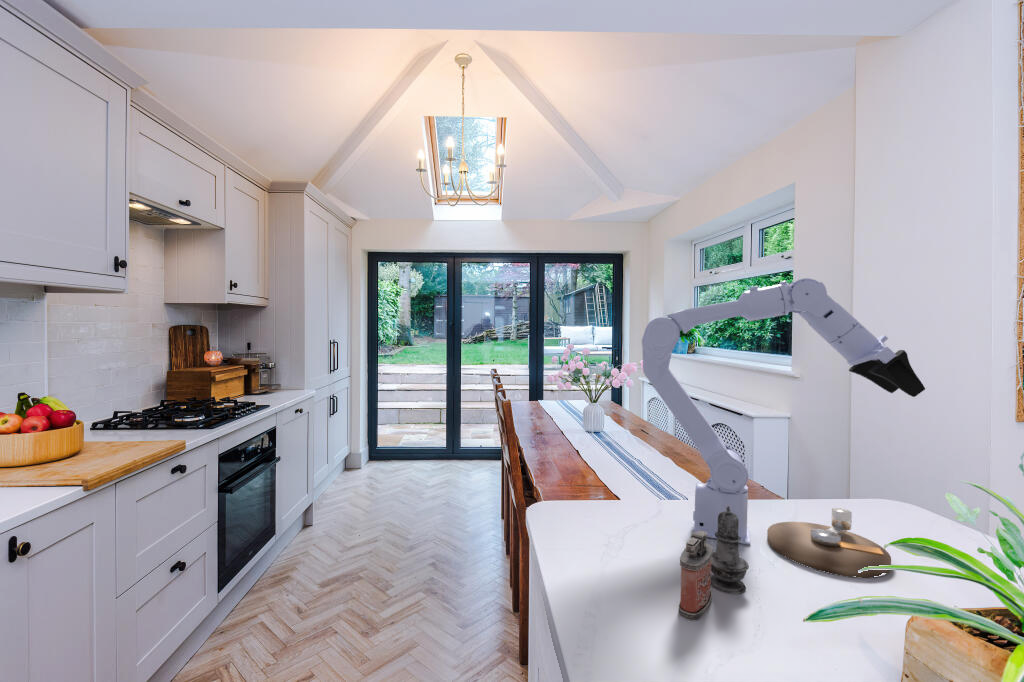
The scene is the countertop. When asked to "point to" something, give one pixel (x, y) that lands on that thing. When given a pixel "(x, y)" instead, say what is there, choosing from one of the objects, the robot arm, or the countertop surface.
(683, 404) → the robot arm
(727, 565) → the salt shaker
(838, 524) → the silver dumbbell
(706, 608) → the lighter
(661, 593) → the countertop surface
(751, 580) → the countertop surface
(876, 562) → the dial plate
